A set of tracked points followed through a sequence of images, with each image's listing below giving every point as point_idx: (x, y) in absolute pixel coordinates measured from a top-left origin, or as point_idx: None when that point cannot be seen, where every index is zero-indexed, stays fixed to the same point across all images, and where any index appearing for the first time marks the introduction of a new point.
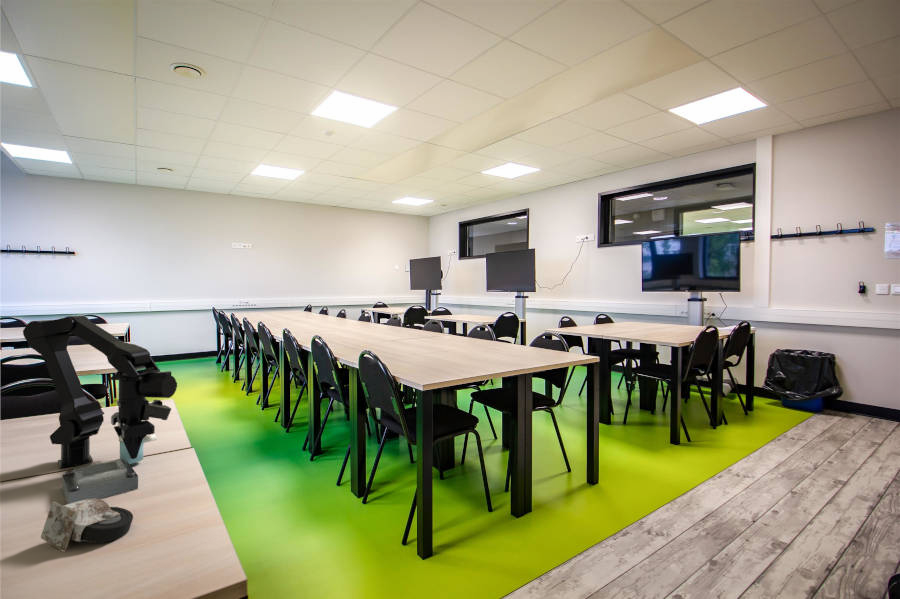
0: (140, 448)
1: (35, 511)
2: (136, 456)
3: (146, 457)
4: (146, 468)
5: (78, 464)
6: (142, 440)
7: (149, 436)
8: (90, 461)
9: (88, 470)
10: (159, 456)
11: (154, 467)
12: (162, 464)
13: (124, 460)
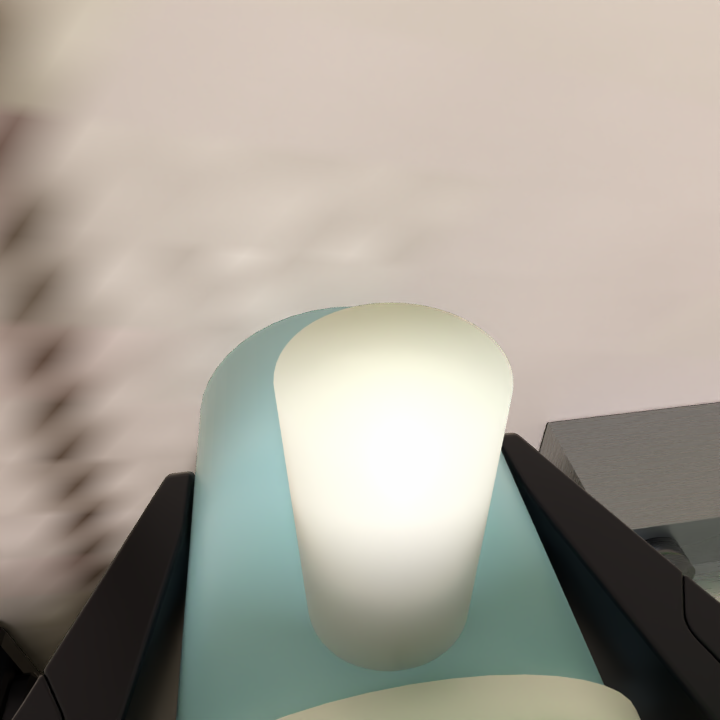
0: (518, 496)
1: None
2: (530, 451)
3: (116, 210)
4: (621, 264)
5: (38, 674)
6: (534, 615)
7: (463, 572)
8: (2, 638)
9: None
10: (193, 7)
11: (683, 181)
12: (677, 60)
13: (690, 566)
